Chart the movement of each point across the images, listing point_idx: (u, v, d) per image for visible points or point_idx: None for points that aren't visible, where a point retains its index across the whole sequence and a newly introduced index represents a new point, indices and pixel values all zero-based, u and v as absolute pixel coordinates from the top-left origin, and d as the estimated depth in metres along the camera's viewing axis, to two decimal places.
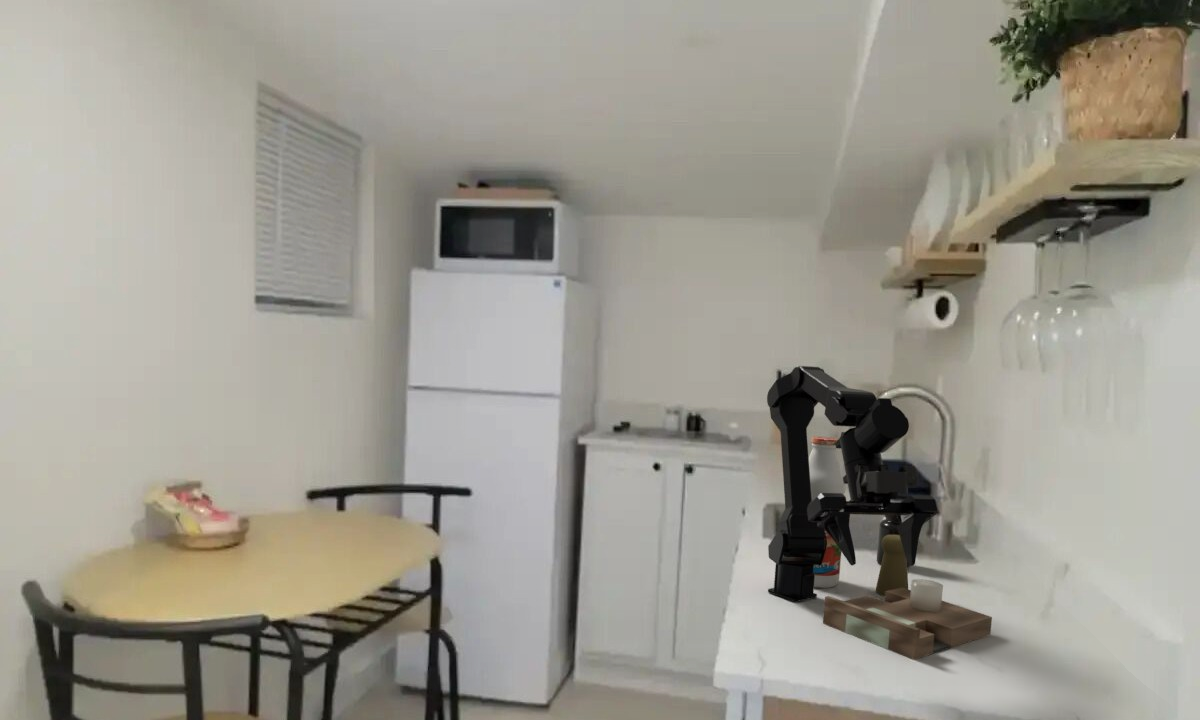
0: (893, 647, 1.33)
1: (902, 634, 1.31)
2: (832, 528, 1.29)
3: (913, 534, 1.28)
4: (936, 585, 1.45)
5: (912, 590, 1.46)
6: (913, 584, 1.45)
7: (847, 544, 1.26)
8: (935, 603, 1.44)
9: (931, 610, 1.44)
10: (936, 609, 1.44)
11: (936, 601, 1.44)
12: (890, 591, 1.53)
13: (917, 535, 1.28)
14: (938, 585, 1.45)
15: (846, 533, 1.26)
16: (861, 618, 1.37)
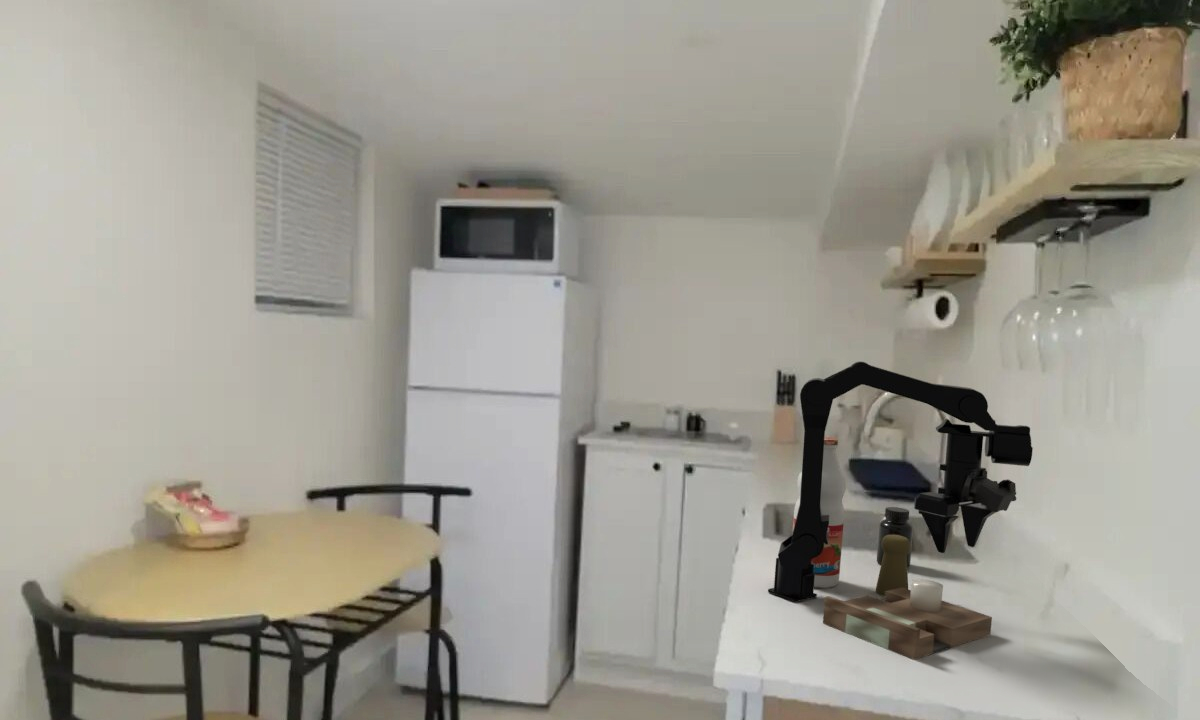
0: (893, 647, 1.33)
1: (902, 634, 1.31)
2: (931, 518, 1.47)
3: (981, 524, 1.52)
4: (936, 585, 1.45)
5: (912, 590, 1.46)
6: (913, 584, 1.45)
7: (944, 538, 1.46)
8: (935, 603, 1.44)
9: (931, 610, 1.44)
10: (936, 609, 1.44)
11: (936, 601, 1.44)
12: (890, 591, 1.53)
13: (983, 524, 1.52)
14: (938, 585, 1.45)
15: (947, 529, 1.45)
16: (861, 618, 1.37)
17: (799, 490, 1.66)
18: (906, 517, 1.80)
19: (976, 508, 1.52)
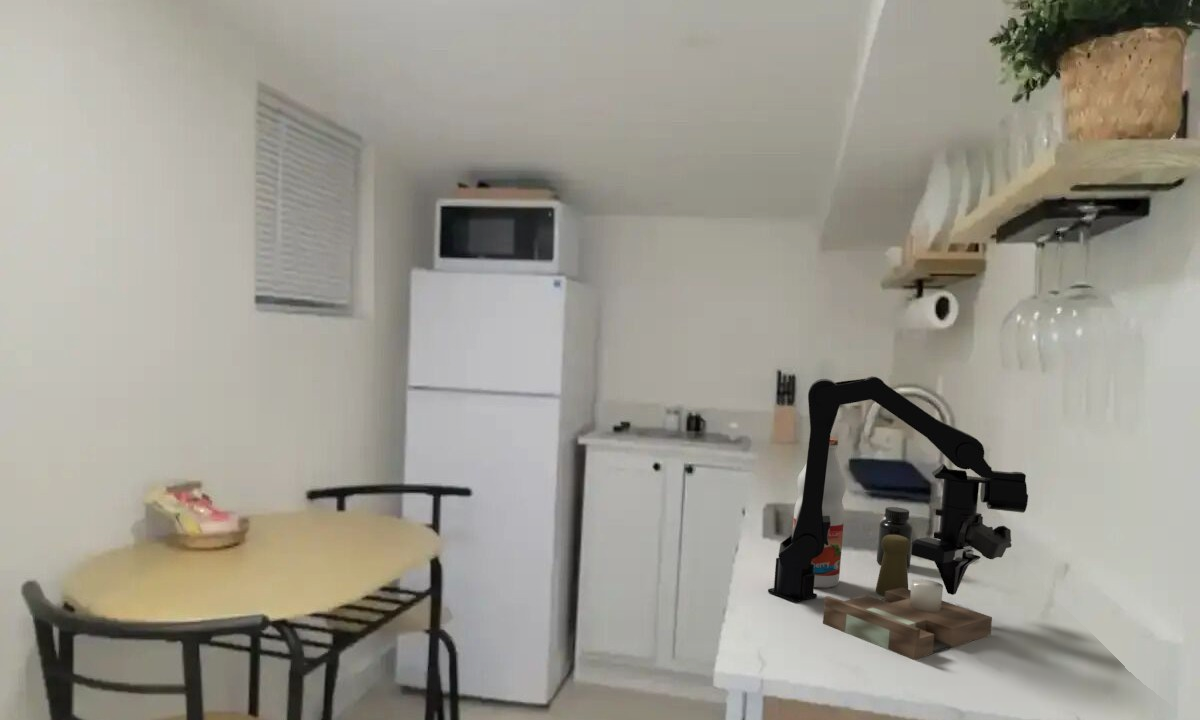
0: (893, 647, 1.33)
1: (902, 634, 1.31)
2: None
3: (962, 571, 1.50)
4: (936, 585, 1.45)
5: (912, 590, 1.46)
6: (913, 584, 1.45)
7: (954, 581, 1.49)
8: (935, 603, 1.44)
9: (931, 610, 1.44)
10: (936, 609, 1.44)
11: (936, 601, 1.44)
12: (890, 591, 1.53)
13: (964, 571, 1.50)
14: (938, 585, 1.45)
15: (957, 572, 1.49)
16: (861, 618, 1.37)
17: (799, 490, 1.66)
18: (906, 517, 1.80)
19: None
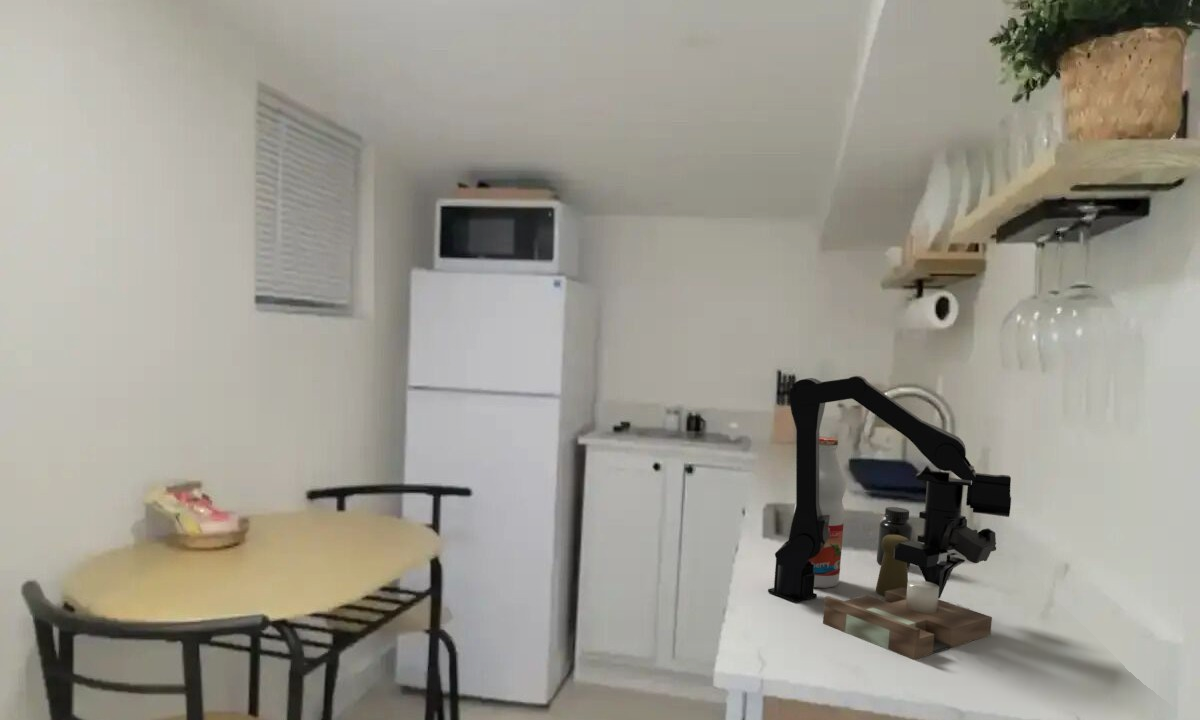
0: (893, 647, 1.33)
1: (902, 634, 1.31)
2: None
3: (946, 575, 1.47)
4: (932, 586, 1.44)
5: (908, 591, 1.45)
6: (909, 585, 1.45)
7: (939, 585, 1.46)
8: (931, 604, 1.43)
9: (927, 611, 1.43)
10: (932, 610, 1.43)
11: (932, 603, 1.43)
12: (890, 591, 1.53)
13: (948, 575, 1.47)
14: (934, 586, 1.44)
15: (941, 576, 1.46)
16: (861, 618, 1.37)
17: None
18: (906, 517, 1.80)
19: None
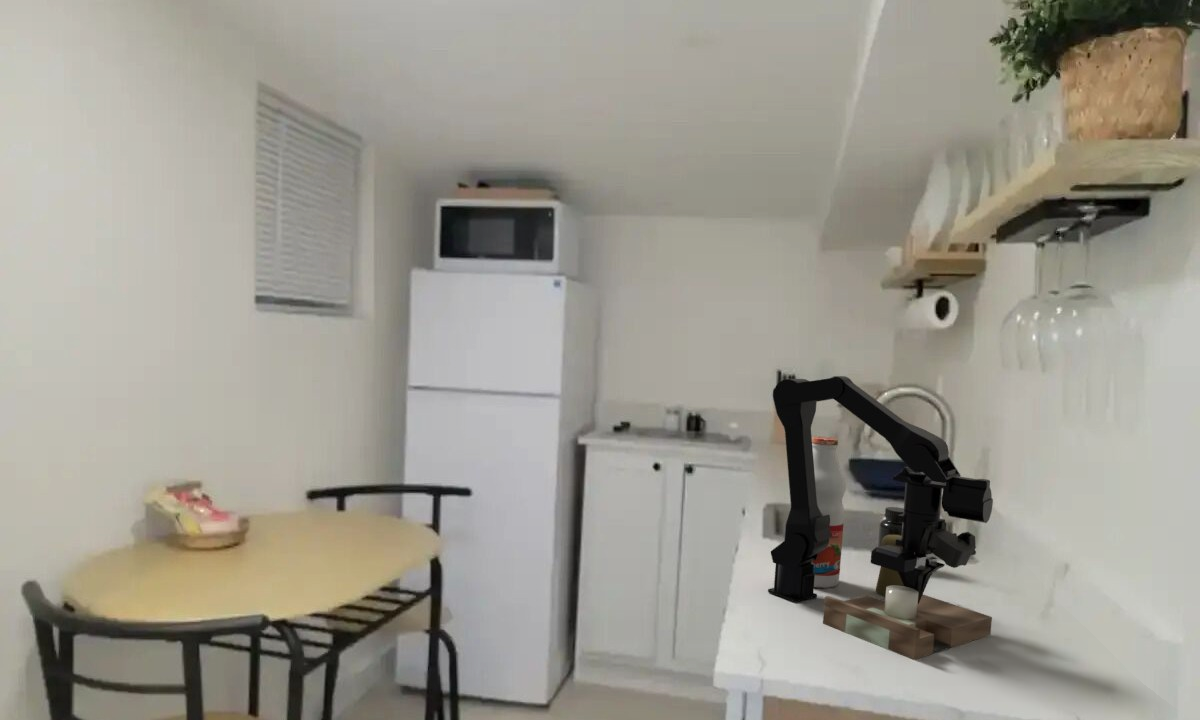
0: (893, 647, 1.33)
1: (902, 634, 1.31)
2: None
3: (925, 580, 1.43)
4: (911, 592, 1.40)
5: (887, 597, 1.41)
6: (888, 591, 1.41)
7: (917, 590, 1.42)
8: (910, 610, 1.39)
9: (906, 618, 1.39)
10: (911, 617, 1.39)
11: (911, 609, 1.39)
12: None
13: (927, 580, 1.43)
14: (913, 592, 1.40)
15: (920, 581, 1.42)
16: (861, 618, 1.37)
17: None
18: None
19: None
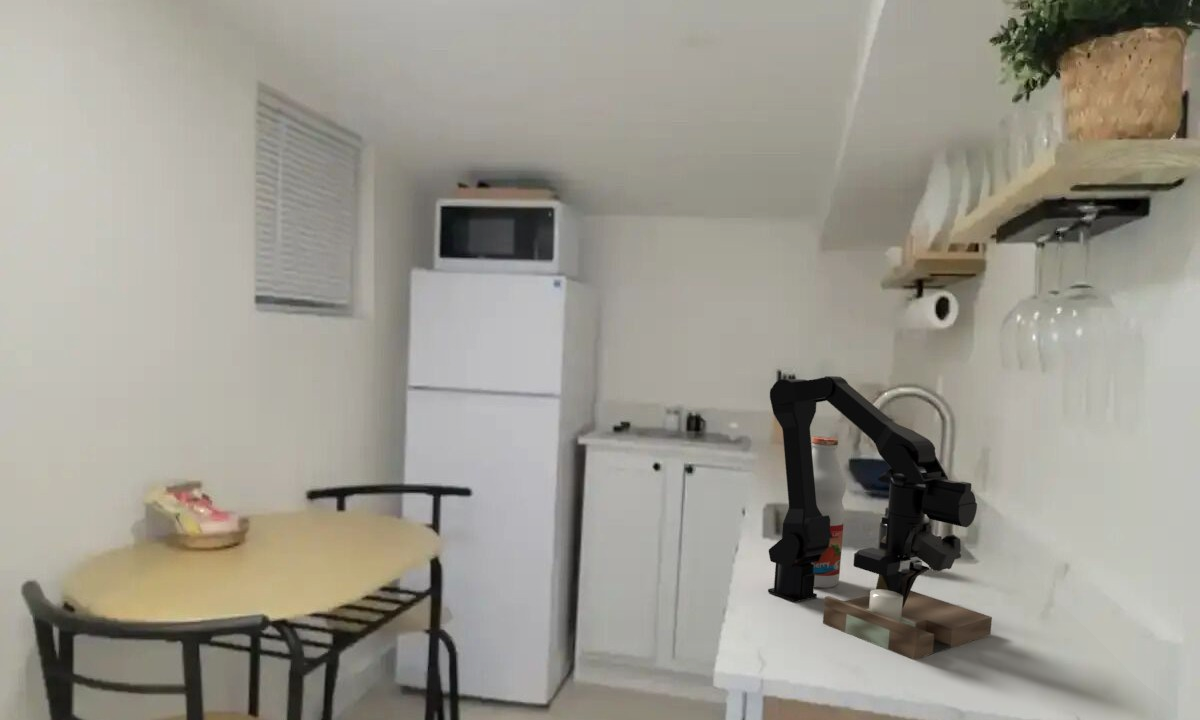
0: (893, 647, 1.33)
1: (902, 634, 1.31)
2: None
3: (910, 583, 1.40)
4: (896, 596, 1.37)
5: (871, 601, 1.38)
6: (872, 595, 1.38)
7: (901, 594, 1.40)
8: (894, 615, 1.36)
9: None
10: None
11: (896, 613, 1.36)
12: None
13: (912, 584, 1.41)
14: (898, 596, 1.37)
15: (904, 584, 1.39)
16: (861, 618, 1.37)
17: None
18: None
19: None
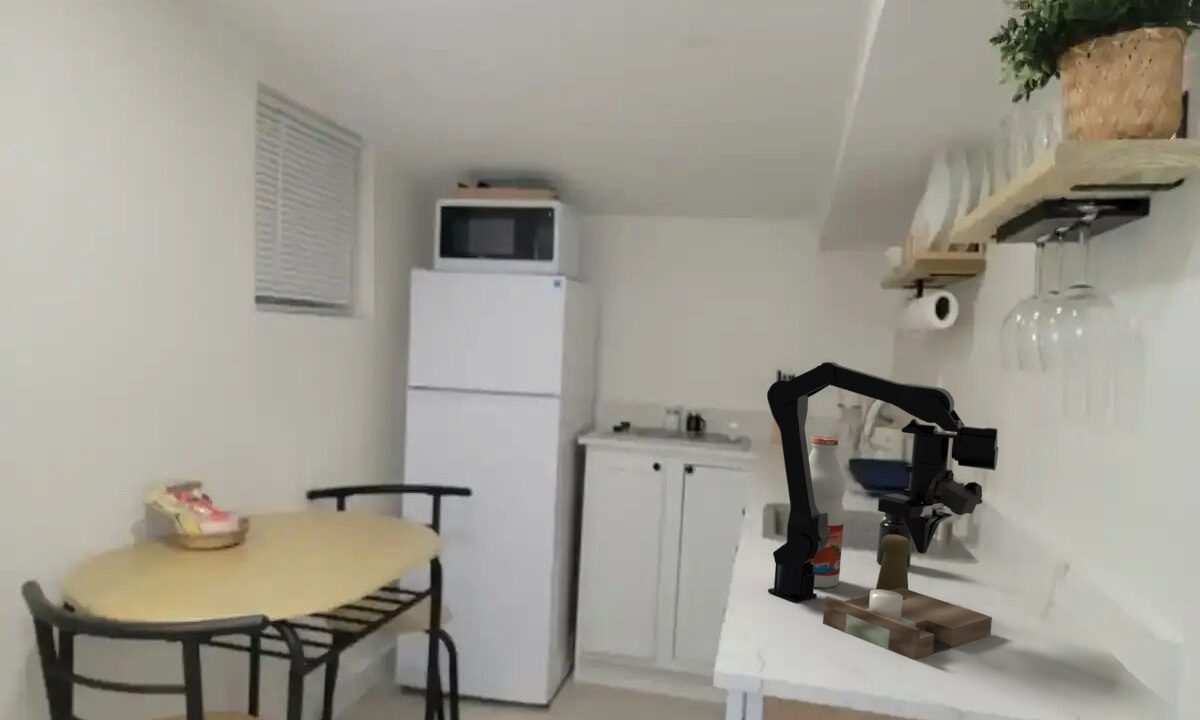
0: (893, 647, 1.33)
1: (902, 634, 1.31)
2: (911, 518, 1.46)
3: (933, 529, 1.45)
4: (896, 596, 1.37)
5: (871, 601, 1.38)
6: (872, 595, 1.38)
7: (924, 539, 1.45)
8: (894, 615, 1.36)
9: None
10: None
11: (896, 613, 1.36)
12: None
13: (935, 530, 1.46)
14: (898, 596, 1.37)
15: (926, 530, 1.45)
16: (861, 618, 1.37)
17: None
18: None
19: None
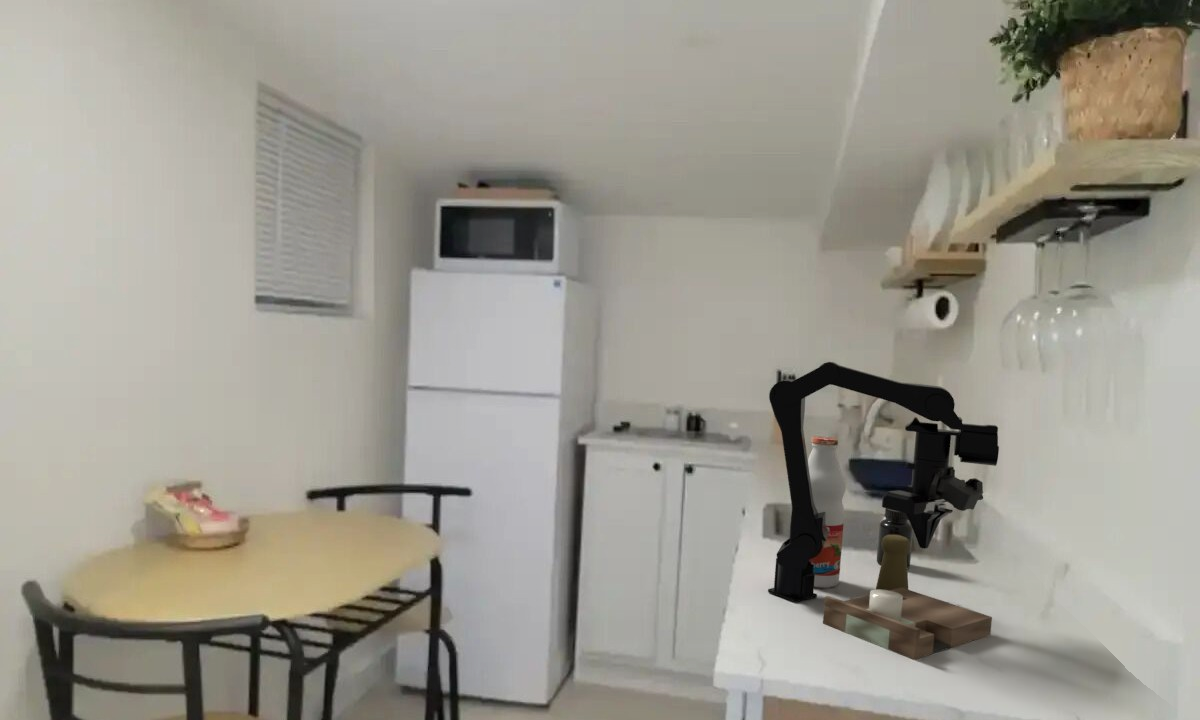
0: (893, 647, 1.33)
1: (902, 634, 1.31)
2: (913, 514, 1.49)
3: (934, 525, 1.49)
4: (896, 596, 1.37)
5: (871, 601, 1.38)
6: (872, 595, 1.38)
7: (926, 534, 1.48)
8: (894, 615, 1.36)
9: None
10: None
11: (896, 613, 1.36)
12: None
13: (936, 525, 1.49)
14: (898, 596, 1.37)
15: (929, 525, 1.48)
16: (861, 618, 1.37)
17: None
18: (906, 517, 1.80)
19: None
